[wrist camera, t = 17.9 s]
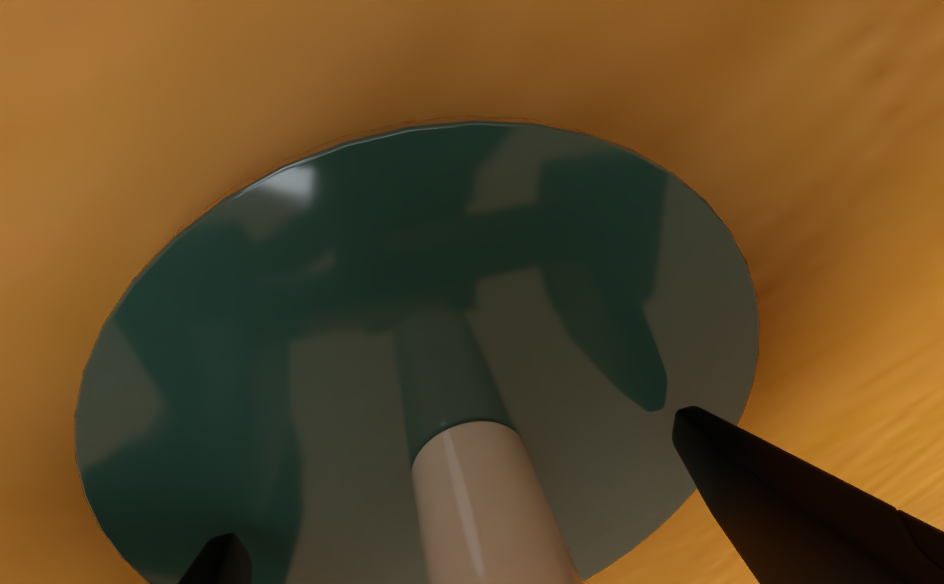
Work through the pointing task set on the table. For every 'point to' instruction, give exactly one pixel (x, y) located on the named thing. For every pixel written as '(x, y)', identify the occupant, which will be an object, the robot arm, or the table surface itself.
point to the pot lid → (418, 362)
